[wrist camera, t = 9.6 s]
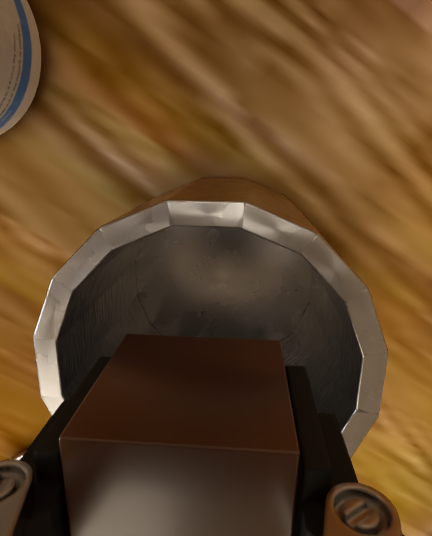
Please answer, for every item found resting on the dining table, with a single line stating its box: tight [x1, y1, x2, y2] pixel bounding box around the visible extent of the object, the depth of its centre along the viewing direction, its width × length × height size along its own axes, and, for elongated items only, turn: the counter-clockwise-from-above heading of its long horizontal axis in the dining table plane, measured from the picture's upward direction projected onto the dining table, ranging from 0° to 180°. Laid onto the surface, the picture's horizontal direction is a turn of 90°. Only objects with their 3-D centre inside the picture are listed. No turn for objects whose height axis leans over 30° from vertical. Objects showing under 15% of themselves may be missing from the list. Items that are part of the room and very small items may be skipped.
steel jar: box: [33, 177, 388, 458], centre depth 18 cm, size 12×12×10 cm
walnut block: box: [59, 334, 300, 536], centre depth 10 cm, size 4×4×4 cm
